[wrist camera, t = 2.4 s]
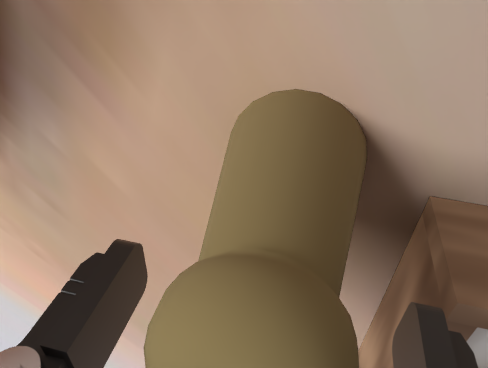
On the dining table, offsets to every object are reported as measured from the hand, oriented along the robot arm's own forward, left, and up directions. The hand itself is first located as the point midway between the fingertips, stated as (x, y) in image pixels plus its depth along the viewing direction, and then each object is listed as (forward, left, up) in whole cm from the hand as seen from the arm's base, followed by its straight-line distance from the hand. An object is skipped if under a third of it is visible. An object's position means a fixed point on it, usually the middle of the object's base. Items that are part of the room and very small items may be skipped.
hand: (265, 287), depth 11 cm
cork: (0, 0, -7) cm, 7 cm away
